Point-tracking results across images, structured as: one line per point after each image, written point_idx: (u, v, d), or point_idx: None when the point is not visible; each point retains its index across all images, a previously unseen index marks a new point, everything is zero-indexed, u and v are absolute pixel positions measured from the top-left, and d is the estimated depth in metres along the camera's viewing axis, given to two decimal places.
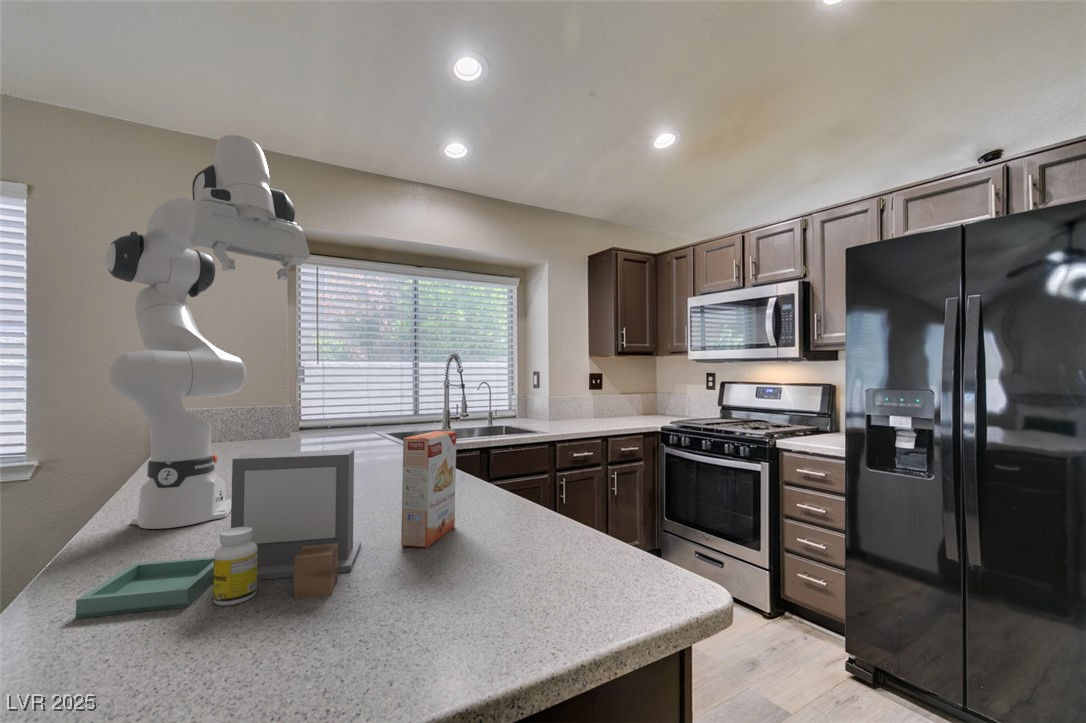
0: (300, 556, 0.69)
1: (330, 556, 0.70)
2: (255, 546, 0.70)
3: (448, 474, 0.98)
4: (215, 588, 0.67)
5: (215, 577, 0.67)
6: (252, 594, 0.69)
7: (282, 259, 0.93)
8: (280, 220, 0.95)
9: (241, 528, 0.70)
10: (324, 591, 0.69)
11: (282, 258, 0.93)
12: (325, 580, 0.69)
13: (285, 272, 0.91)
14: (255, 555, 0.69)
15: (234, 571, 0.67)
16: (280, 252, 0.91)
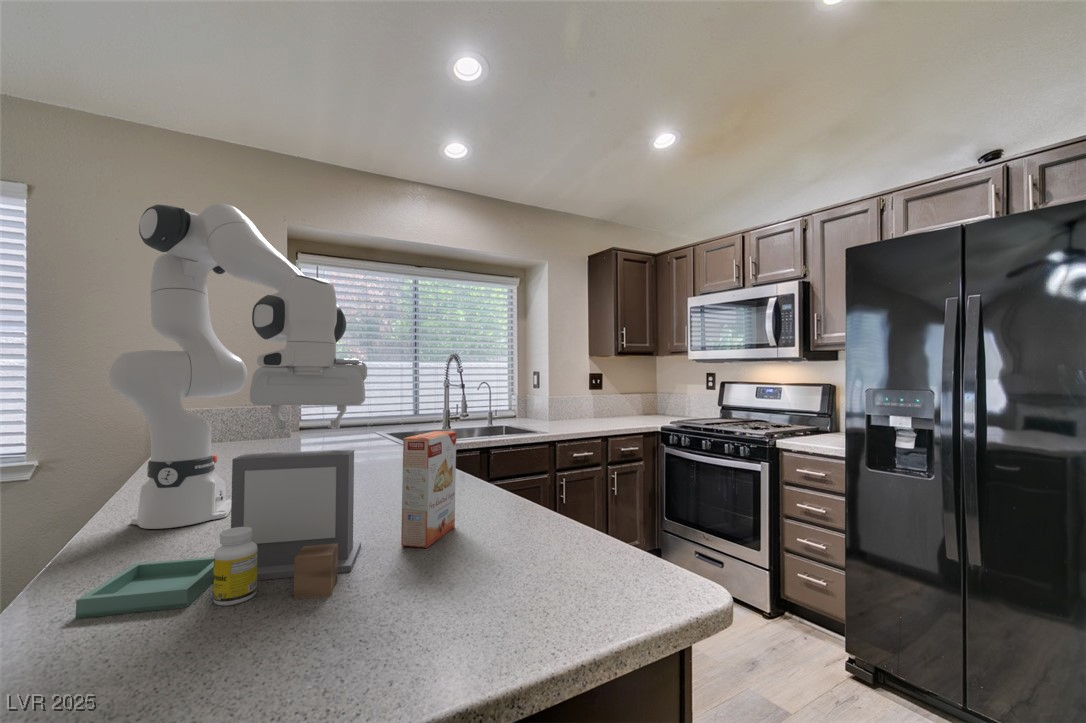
0: (300, 556, 0.69)
1: (330, 556, 0.70)
2: (255, 546, 0.70)
3: (448, 474, 0.98)
4: (215, 588, 0.67)
5: (215, 577, 0.67)
6: (252, 594, 0.68)
7: None
8: (341, 362, 0.92)
9: (241, 528, 0.70)
10: (324, 591, 0.69)
11: None
12: (325, 580, 0.69)
13: (334, 424, 0.92)
14: (255, 555, 0.69)
15: (234, 571, 0.67)
16: (330, 404, 0.91)
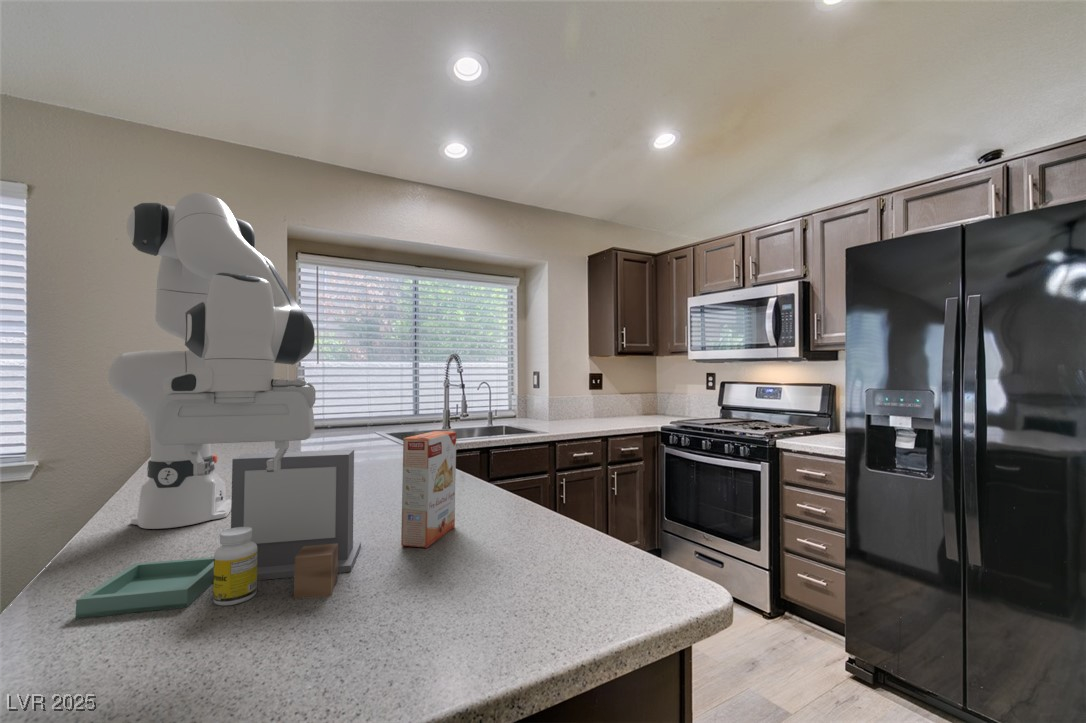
0: (300, 556, 0.69)
1: (330, 556, 0.70)
2: (255, 546, 0.70)
3: (448, 474, 0.98)
4: (215, 588, 0.67)
5: (215, 577, 0.67)
6: (252, 594, 0.69)
7: None
8: (280, 383, 0.71)
9: (241, 528, 0.70)
10: (324, 591, 0.69)
11: None
12: (325, 580, 0.69)
13: (272, 465, 0.70)
14: (255, 555, 0.69)
15: (234, 571, 0.67)
16: (265, 440, 0.69)
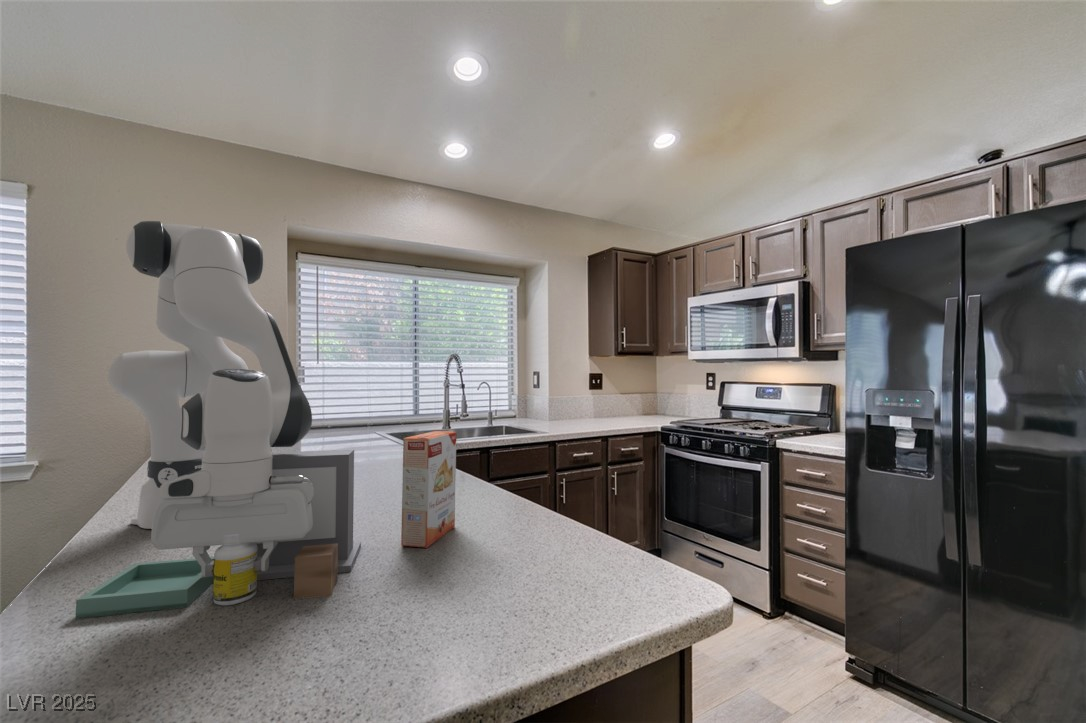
0: (300, 556, 0.69)
1: (330, 556, 0.70)
2: (255, 546, 0.70)
3: (448, 474, 0.98)
4: (215, 588, 0.67)
5: (215, 577, 0.67)
6: (252, 594, 0.69)
7: None
8: (278, 481, 0.70)
9: None
10: (324, 591, 0.69)
11: None
12: (325, 580, 0.69)
13: (260, 566, 0.69)
14: (255, 555, 0.69)
15: (234, 571, 0.67)
16: (263, 541, 0.68)
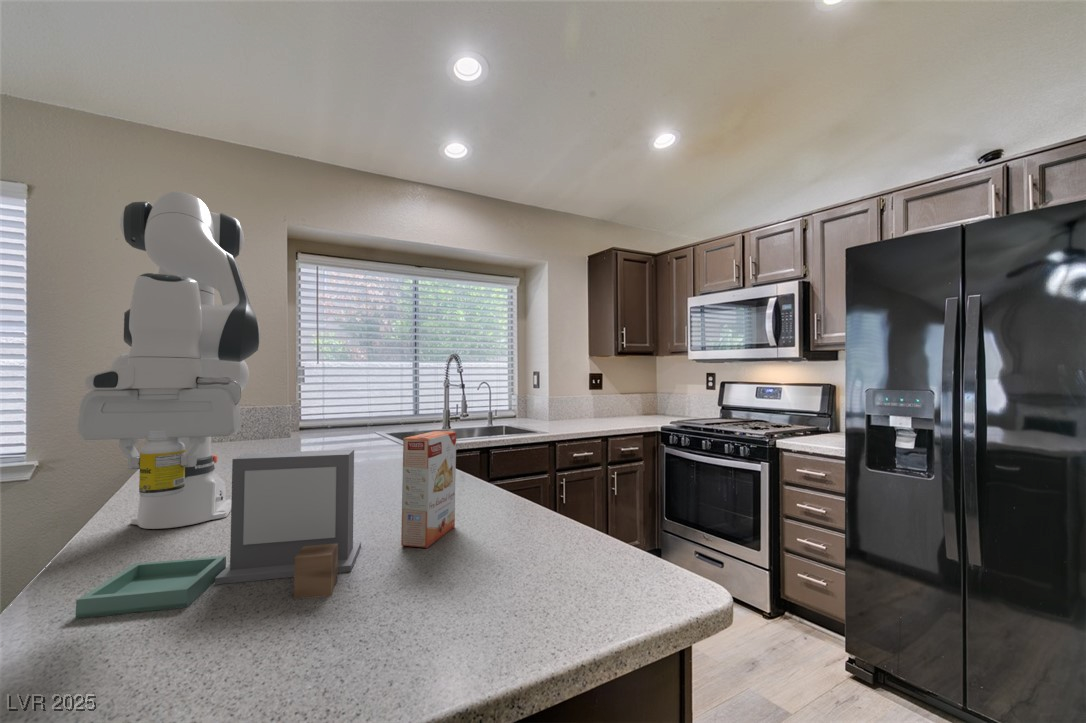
0: (300, 556, 0.69)
1: (330, 556, 0.70)
2: (182, 445, 0.72)
3: (448, 474, 0.98)
4: (140, 481, 0.69)
5: (140, 470, 0.69)
6: (178, 489, 0.71)
7: None
8: (205, 381, 0.73)
9: None
10: (324, 591, 0.69)
11: None
12: (325, 580, 0.69)
13: (186, 461, 0.72)
14: (182, 453, 0.72)
15: (159, 464, 0.69)
16: (188, 436, 0.71)
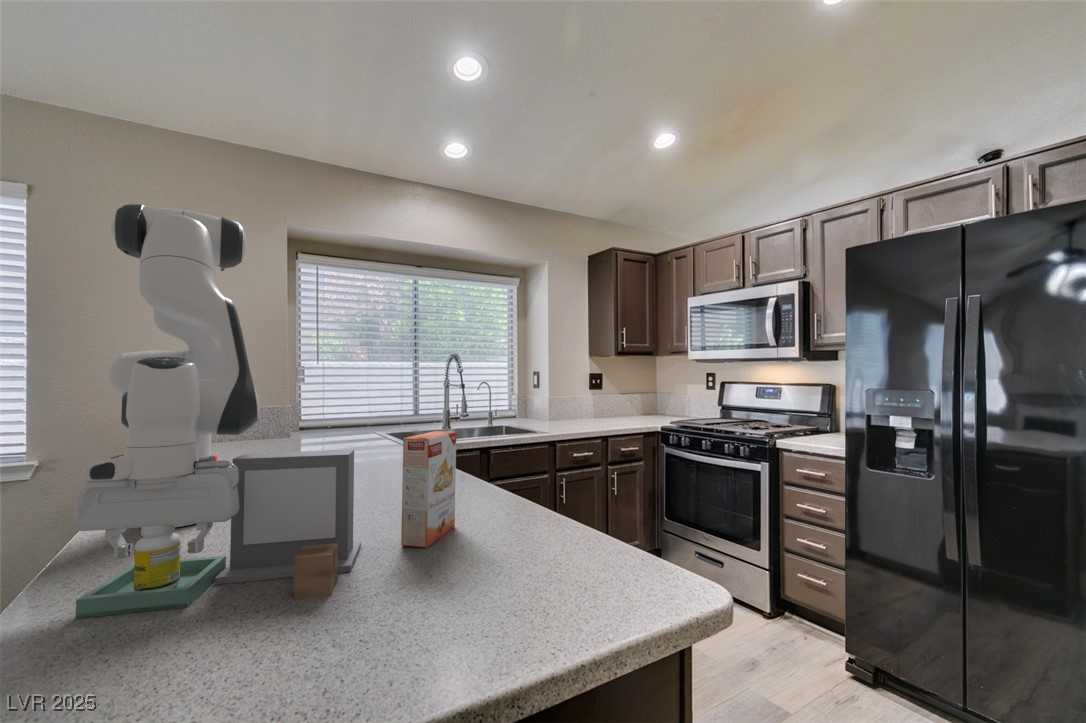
0: (300, 556, 0.69)
1: (330, 556, 0.70)
2: (177, 538, 0.72)
3: (448, 474, 0.98)
4: (135, 578, 0.68)
5: (135, 567, 0.69)
6: (173, 584, 0.71)
7: None
8: (202, 466, 0.72)
9: None
10: (324, 591, 0.69)
11: None
12: (325, 580, 0.69)
13: (193, 547, 0.71)
14: (177, 546, 0.71)
15: (154, 562, 0.69)
16: (186, 523, 0.71)
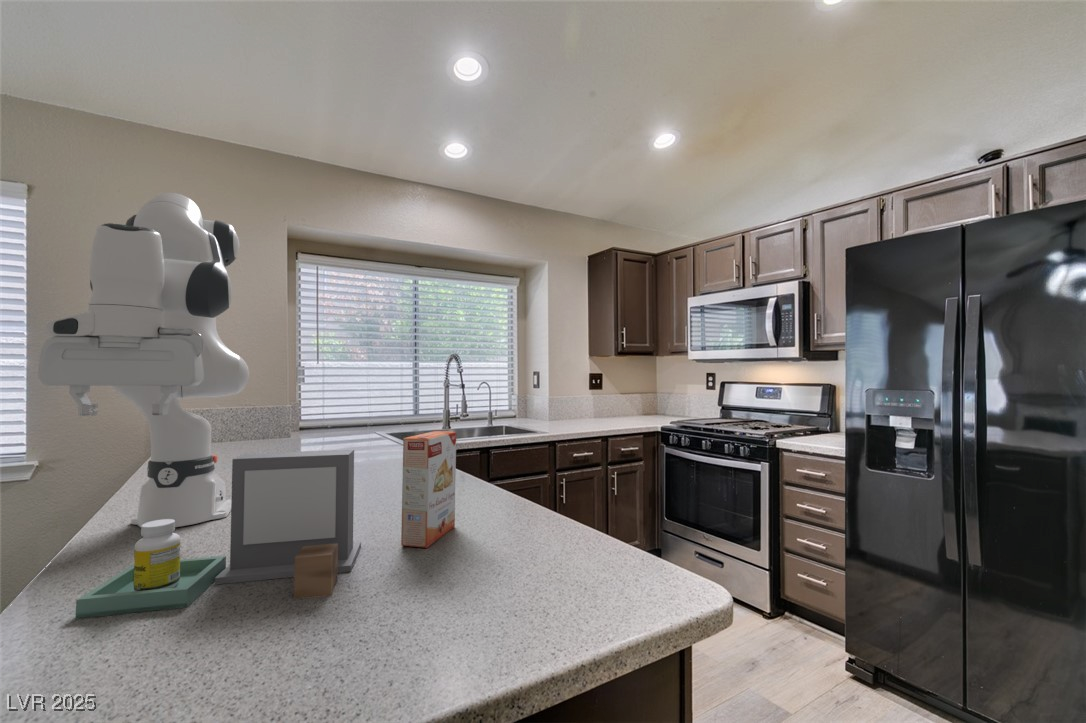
0: (300, 556, 0.69)
1: (330, 556, 0.70)
2: (177, 538, 0.72)
3: (448, 474, 0.98)
4: (135, 578, 0.68)
5: (135, 567, 0.69)
6: (173, 584, 0.71)
7: None
8: (166, 331, 0.74)
9: (164, 520, 0.72)
10: (324, 591, 0.69)
11: None
12: (325, 580, 0.69)
13: (157, 409, 0.73)
14: (177, 546, 0.71)
15: (154, 562, 0.69)
16: (150, 385, 0.72)
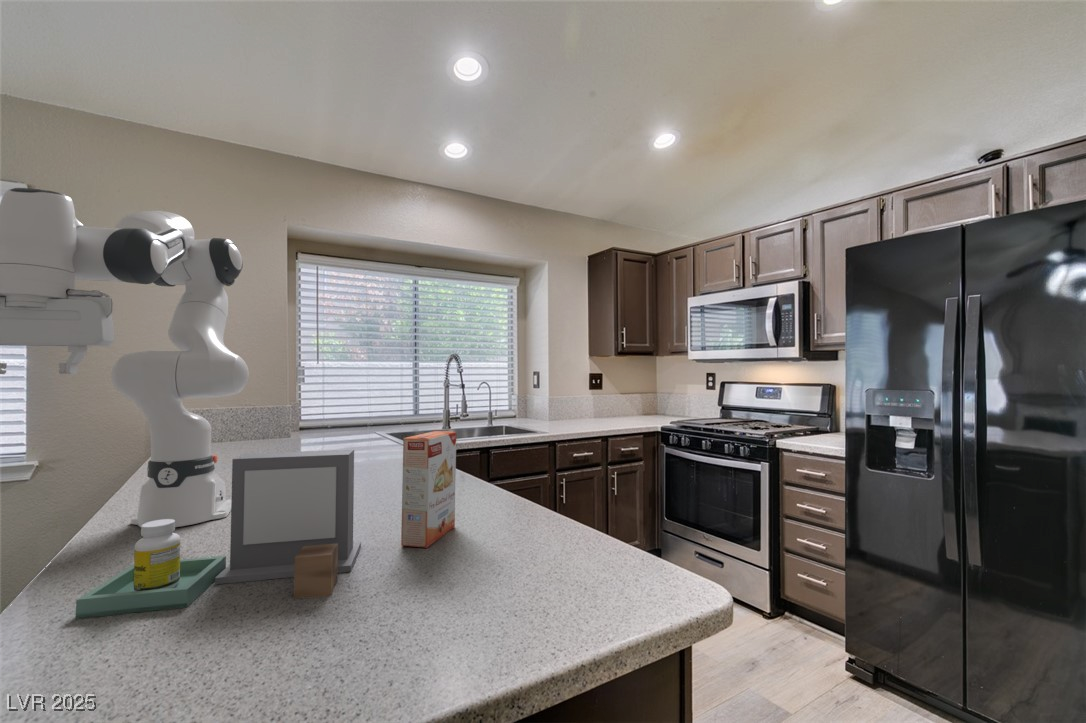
0: (300, 556, 0.69)
1: (330, 556, 0.70)
2: (177, 538, 0.72)
3: (448, 474, 0.98)
4: (135, 578, 0.68)
5: (135, 567, 0.69)
6: (173, 584, 0.71)
7: None
8: (75, 293, 0.76)
9: (164, 520, 0.72)
10: (324, 591, 0.69)
11: None
12: (325, 580, 0.69)
13: (64, 368, 0.75)
14: (177, 546, 0.71)
15: (154, 562, 0.69)
16: (56, 343, 0.74)
